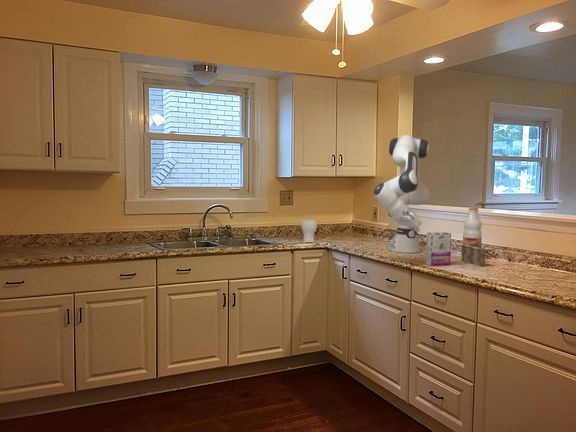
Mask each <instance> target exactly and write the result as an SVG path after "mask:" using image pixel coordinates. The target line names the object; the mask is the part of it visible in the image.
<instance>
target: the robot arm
mask: <svg viewBox="0 0 576 432" xmlns="http://www.w3.org/2000/svg"><path fill="white" fill-rule="evenodd" d="M429 152H430V144H429V141H428V140H427V139H424V138H421V139H420V138H415V137H413V136H411V134H404V135H402V136H400V137H395V138H392V139H391V140H390V141H389V144H388V154H389V155H390V156H392V161H393V163H394V164H395V165H396V166H397V167H399V175H397V176H395V177H393V178H391V179H389V180H387V181H386V182H380V183H379V184H378V185H376V186H375V188H374V189H373V195H374V198H375V199H376V201H378V204H380V205H381V206H382V207H383V208H384V209H386V212H387V216H389V217H390V218H391V219H392V220H394V222H396V223H397V227H396V231H395V235H394V236H393V237H392V238H391V240H389V244H390V246H387V247H386V249H387V250H388V251H390V252H393V253H405V254H409V253H419V252H422V248H421V249H420V238H419V236H418V233H419V232H420V231H421V229H420V228H419V227H421V225H422V223H423V222H422V221H421V219H420V218H418V216H417V213H416V212H414V211H412V210H410V209H409V207H408V206H422V205H426V204H429V202H430V200H431V198H432V193H431V191H430V189H429V188H428V187H427V186H425V185H424V184H423V182H422V180H421V176H420V175H421V174H420V173H421V172H420V169H421V159H424V158H426V157H427V156H428V154H429Z"/></svg>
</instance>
